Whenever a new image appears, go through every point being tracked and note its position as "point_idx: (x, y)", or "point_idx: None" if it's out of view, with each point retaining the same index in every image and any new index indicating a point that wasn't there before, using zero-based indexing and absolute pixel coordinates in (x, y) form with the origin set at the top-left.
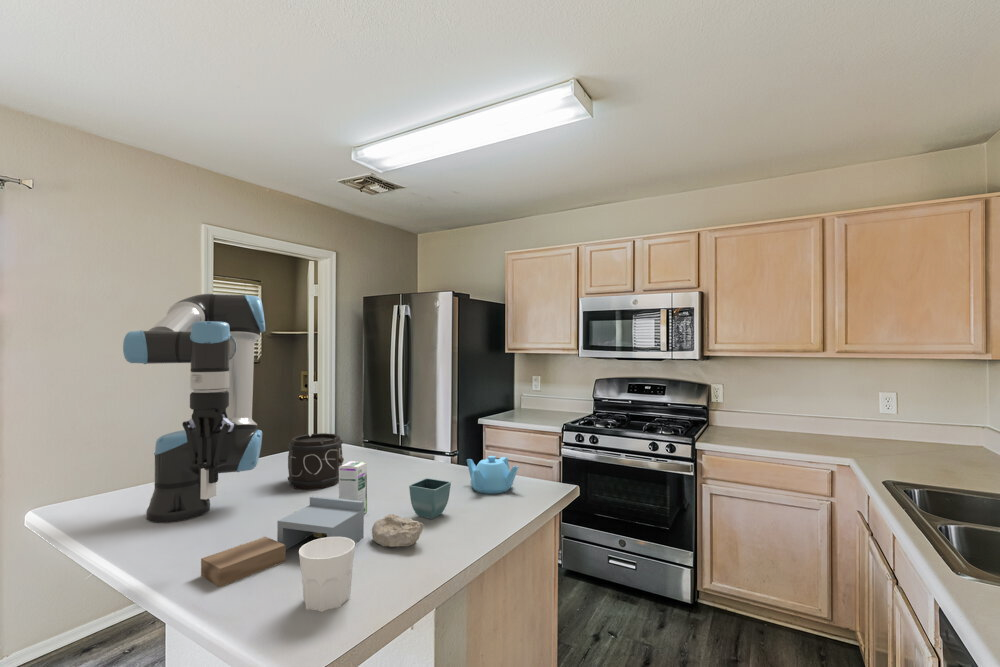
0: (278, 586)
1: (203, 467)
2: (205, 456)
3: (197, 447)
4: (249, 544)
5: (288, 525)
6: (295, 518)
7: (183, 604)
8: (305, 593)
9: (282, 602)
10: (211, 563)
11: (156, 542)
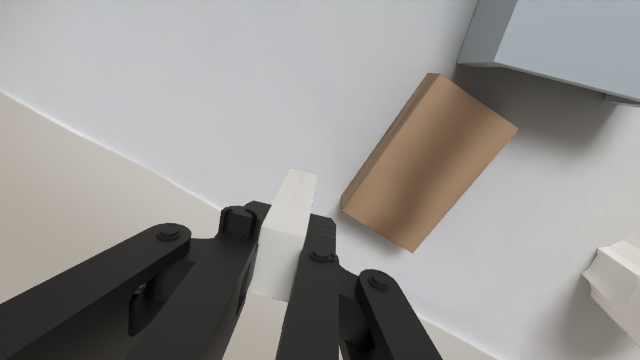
0: (518, 229)
1: (250, 281)
2: (230, 322)
3: (86, 355)
4: (417, 130)
5: (530, 72)
6: (554, 32)
7: None
8: (611, 317)
9: (543, 278)
10: (380, 232)
11: (96, 25)
